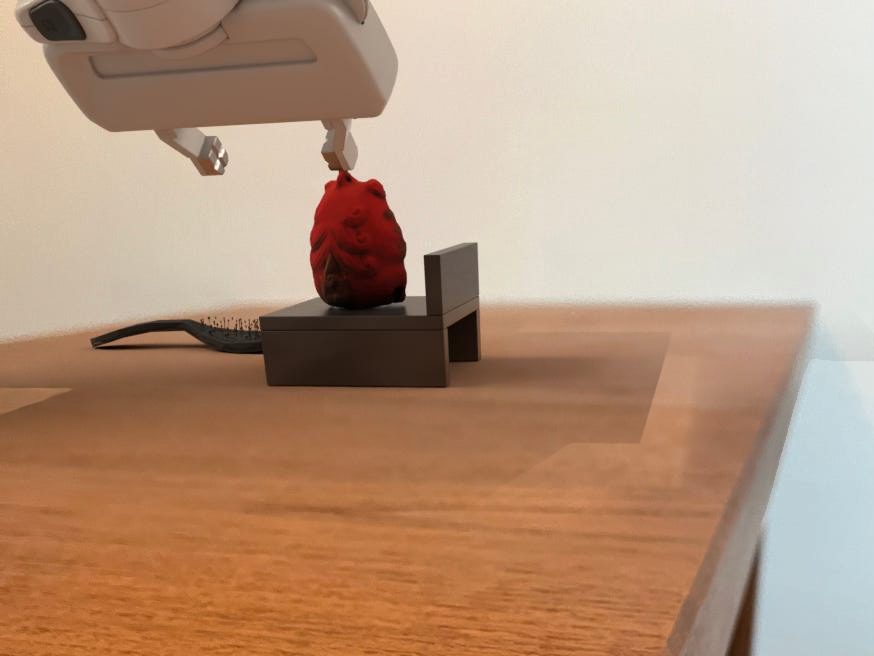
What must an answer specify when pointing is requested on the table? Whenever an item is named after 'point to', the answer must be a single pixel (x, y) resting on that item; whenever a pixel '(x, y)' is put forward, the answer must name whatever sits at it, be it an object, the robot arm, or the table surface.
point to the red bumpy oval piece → (357, 246)
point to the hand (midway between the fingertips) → (279, 165)
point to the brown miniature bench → (381, 333)
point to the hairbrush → (195, 334)
